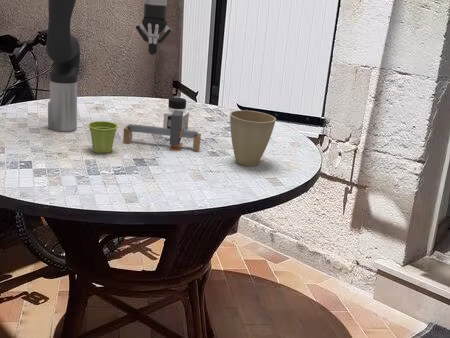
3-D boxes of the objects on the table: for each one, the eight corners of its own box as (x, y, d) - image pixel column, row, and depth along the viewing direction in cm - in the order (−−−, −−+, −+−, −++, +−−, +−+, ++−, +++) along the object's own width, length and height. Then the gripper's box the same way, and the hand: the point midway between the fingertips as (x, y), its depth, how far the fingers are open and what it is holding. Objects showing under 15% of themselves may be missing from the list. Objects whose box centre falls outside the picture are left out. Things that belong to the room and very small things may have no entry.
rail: (121, 144, 190) (122, 126, 188) (127, 137, 199) (128, 120, 197) (197, 153, 190) (199, 135, 187) (200, 145, 198) (201, 128, 196)
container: (182, 135, 208) (184, 101, 203) (162, 132, 209) (164, 98, 205) (187, 130, 215) (190, 97, 211) (168, 127, 216) (170, 94, 212)
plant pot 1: (122, 149, 185) (123, 124, 182) (107, 157, 177) (108, 130, 174) (97, 144, 188) (98, 119, 185) (81, 151, 179) (82, 125, 177)
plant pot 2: (255, 173, 176) (262, 124, 171) (216, 161, 183) (221, 114, 178) (277, 163, 188) (283, 117, 183) (239, 152, 195) (244, 107, 190)
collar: (169, 144, 190) (171, 115, 187) (172, 138, 197) (174, 110, 193) (178, 145, 190) (180, 116, 187) (180, 139, 197) (183, 111, 193)
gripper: (133, 1, 187) (131, 53, 193) (173, 5, 186) (169, 58, 192) (138, 0, 194) (136, 51, 200) (176, 4, 194) (172, 55, 199)
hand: (152, 54), depth 196 cm, fingers closed
